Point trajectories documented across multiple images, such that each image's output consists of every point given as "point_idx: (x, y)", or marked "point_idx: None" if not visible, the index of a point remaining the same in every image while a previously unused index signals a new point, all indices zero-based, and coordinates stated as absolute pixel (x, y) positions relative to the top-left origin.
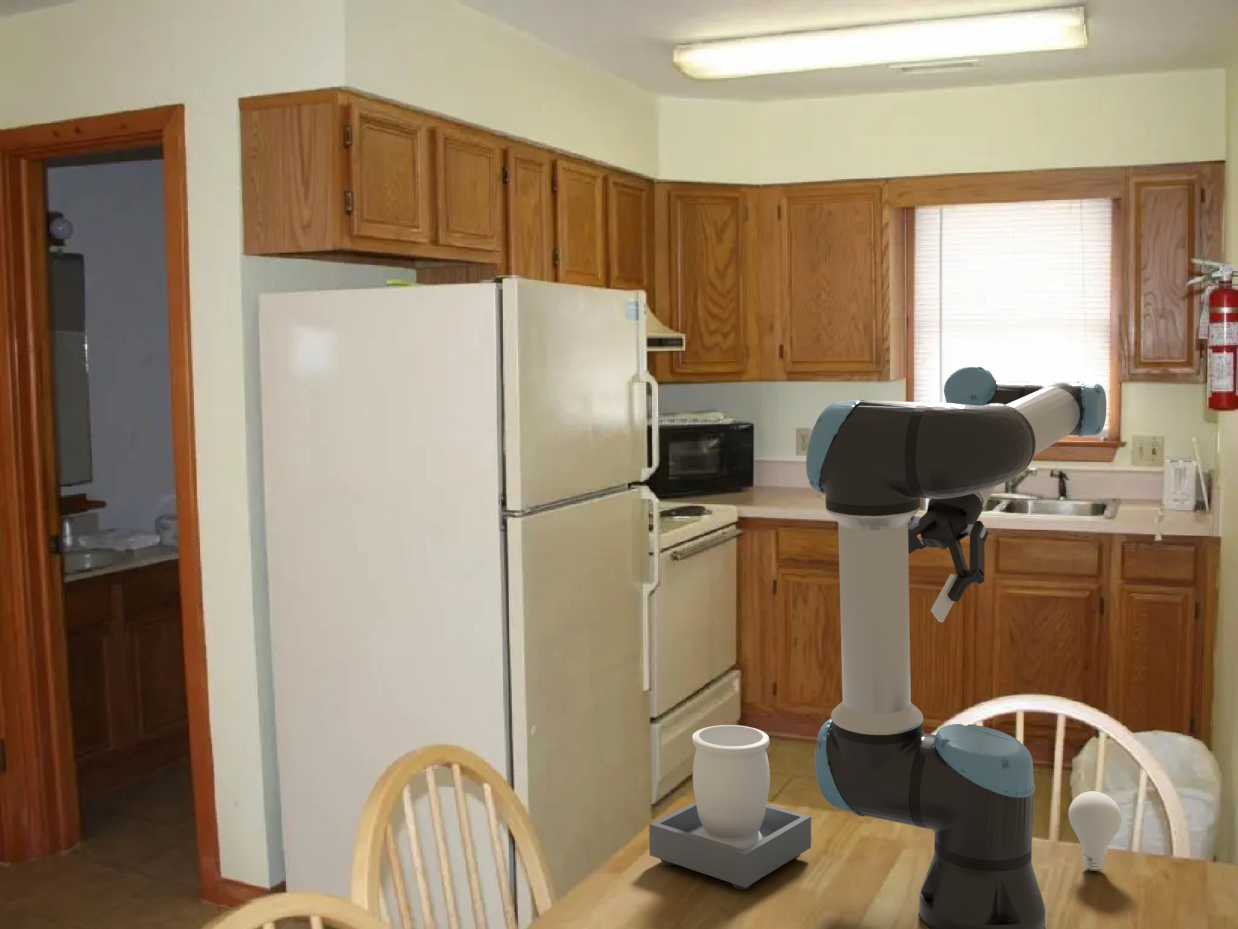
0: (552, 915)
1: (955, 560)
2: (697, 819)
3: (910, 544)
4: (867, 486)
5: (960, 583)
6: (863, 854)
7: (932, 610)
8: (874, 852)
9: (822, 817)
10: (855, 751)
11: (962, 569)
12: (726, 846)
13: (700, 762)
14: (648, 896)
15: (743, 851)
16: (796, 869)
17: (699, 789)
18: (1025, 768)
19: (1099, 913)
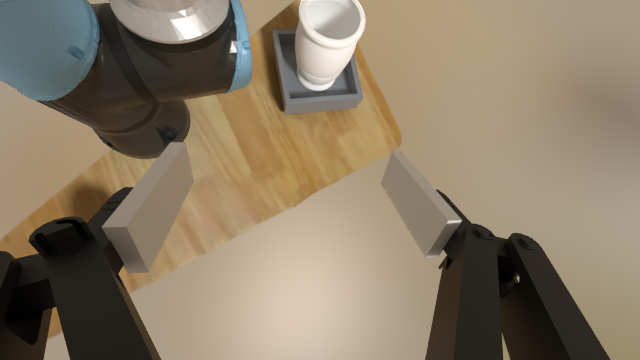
0: None
1: (102, 297)
2: (349, 76)
3: (442, 356)
4: None
5: (90, 223)
6: (264, 145)
7: (178, 142)
8: (261, 153)
9: (324, 174)
10: None
11: (34, 235)
12: (289, 31)
13: (334, 5)
14: None
15: (276, 31)
16: (279, 99)
17: (329, 21)
18: None
19: (83, 183)
